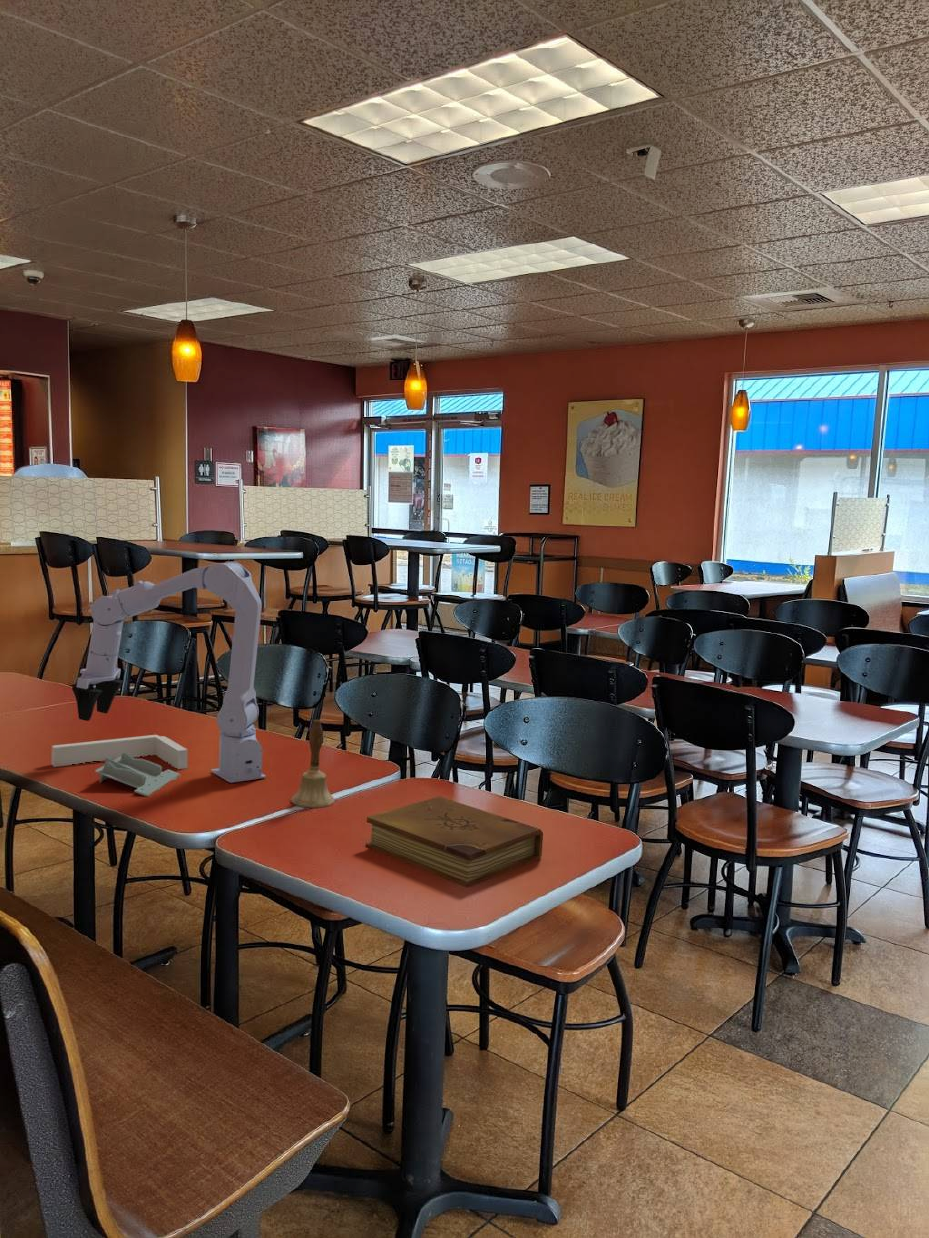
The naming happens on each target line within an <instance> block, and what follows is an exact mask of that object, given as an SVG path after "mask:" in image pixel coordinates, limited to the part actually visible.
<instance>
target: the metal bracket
mask: <svg viewBox="0 0 929 1238" xmlns="http://www.w3.org/2000/svg"><path fill="white" fill-rule="evenodd" d="M125 755H126V756H125ZM162 770H163V766H161V765H160V764H157V763H155V762H152V761H150V760H147V759H143V758H136V757H132V756H131V755H129V754H128V753H123V754H122V757H119V758H117V759H115V760H111V759H109V758H106V759H105V761H104V764H103V765H102V766H100V767H98V768H97V769H95V770H94V772H95V773H97V774H99V775H98V777H99V778H100V780H99V783H100V782H101V783H102V781H103V782H105V781H107V780H108V779H112V780H115V781H116V782H120V783H123V784H125V785H126V786H127V785H128V786H130V787H133V788H136V789H135V790H134V793H136V794H139V795H141V796H142V797H143V796H144V797H146V796H149V795H150V794H152V793H153V792H154V791H156V790H158V789H159V790H161V789H162V788H163V787H162V786H164V785H165V784H166V783H168V782H169V781H171V780H173V781H176V780H177V779H178V778H177V777H178V776H179V775H180V776H181V774H180V772H177V771H174V770H171V769H166V770H164V771H162ZM107 778H108V779H107ZM176 778H177V779H176ZM106 779H107V780H106ZM175 779H176V780H175ZM104 780H105V781H104ZM171 782H172V781H171ZM168 784H169V783H168ZM165 786H166V785H165ZM165 786H164V787H165ZM161 787H162V788H161ZM160 788H161V789H160ZM159 790H158V791H159ZM149 797H150V796H149Z"/></svg>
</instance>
